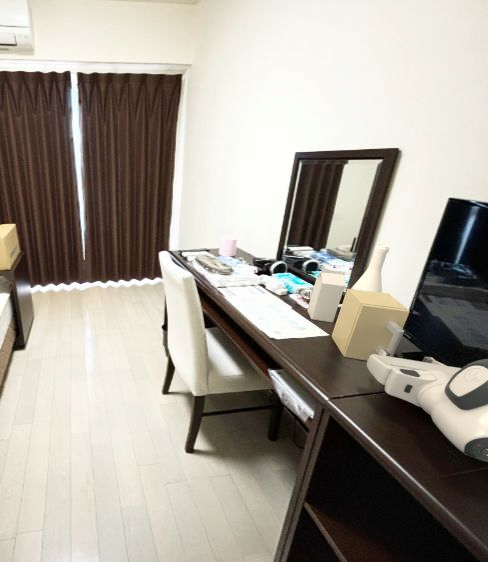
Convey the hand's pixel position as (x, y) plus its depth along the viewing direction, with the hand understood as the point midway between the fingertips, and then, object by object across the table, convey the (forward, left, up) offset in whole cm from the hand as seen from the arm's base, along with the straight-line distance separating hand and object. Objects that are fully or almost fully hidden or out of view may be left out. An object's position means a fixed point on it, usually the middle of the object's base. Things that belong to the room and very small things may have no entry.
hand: (404, 355), depth 80 cm
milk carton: (+9, -36, -9) cm, 38 cm away
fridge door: (+3, -7, -9) cm, 12 cm away
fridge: (+3, -16, -9) cm, 18 cm away
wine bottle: (-2, -34, -9) cm, 35 cm away
